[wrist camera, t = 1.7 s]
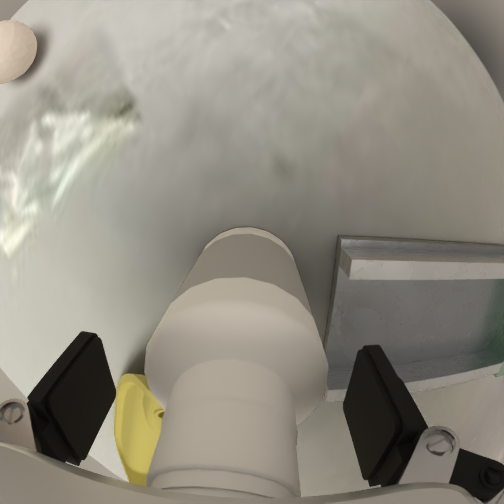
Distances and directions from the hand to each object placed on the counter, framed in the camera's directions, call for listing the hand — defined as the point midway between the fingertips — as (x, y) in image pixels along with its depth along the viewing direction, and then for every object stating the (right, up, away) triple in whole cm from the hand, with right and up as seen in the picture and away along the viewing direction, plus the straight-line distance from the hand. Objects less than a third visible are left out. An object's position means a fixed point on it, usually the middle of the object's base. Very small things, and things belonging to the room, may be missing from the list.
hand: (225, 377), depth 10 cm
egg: (-18, +21, +6) cm, 28 cm away
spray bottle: (+1, +3, +11) cm, 11 cm away
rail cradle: (+15, -1, +11) cm, 19 cm away
